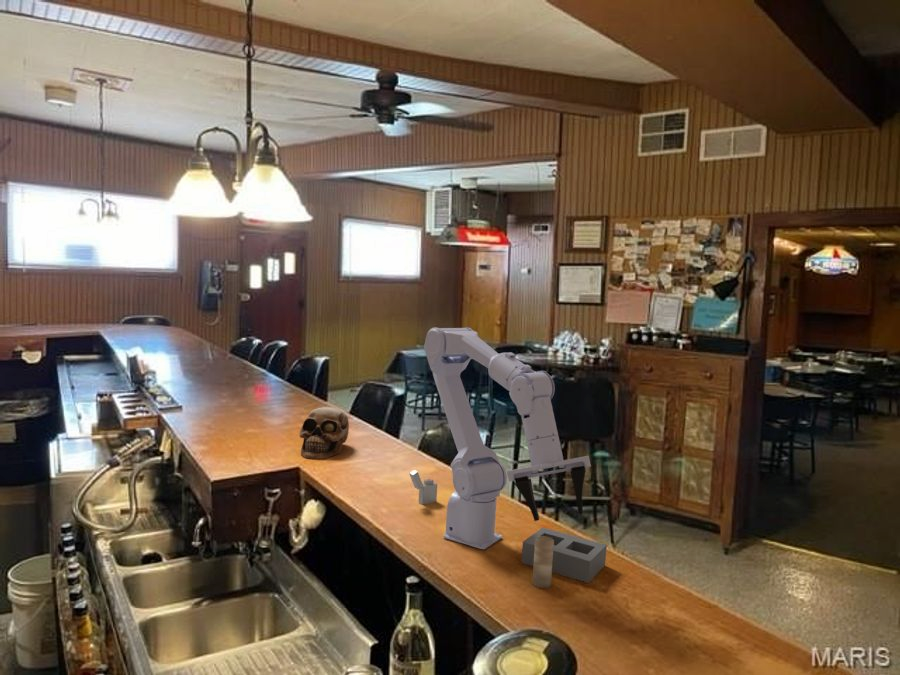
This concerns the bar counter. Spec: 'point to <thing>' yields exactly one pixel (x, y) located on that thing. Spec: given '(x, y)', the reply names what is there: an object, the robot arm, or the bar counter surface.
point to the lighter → (424, 488)
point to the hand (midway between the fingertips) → (558, 516)
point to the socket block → (569, 554)
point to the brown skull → (324, 433)
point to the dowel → (543, 562)
